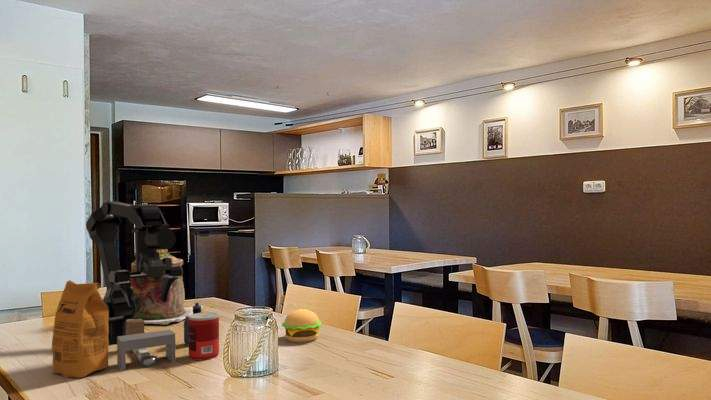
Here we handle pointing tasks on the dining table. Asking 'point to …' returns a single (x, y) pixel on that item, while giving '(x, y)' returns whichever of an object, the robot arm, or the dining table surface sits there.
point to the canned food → (203, 335)
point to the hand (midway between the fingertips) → (147, 304)
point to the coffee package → (80, 331)
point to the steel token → (148, 361)
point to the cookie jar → (159, 297)
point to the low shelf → (145, 344)
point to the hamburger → (301, 326)
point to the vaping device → (186, 329)
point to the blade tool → (136, 328)
